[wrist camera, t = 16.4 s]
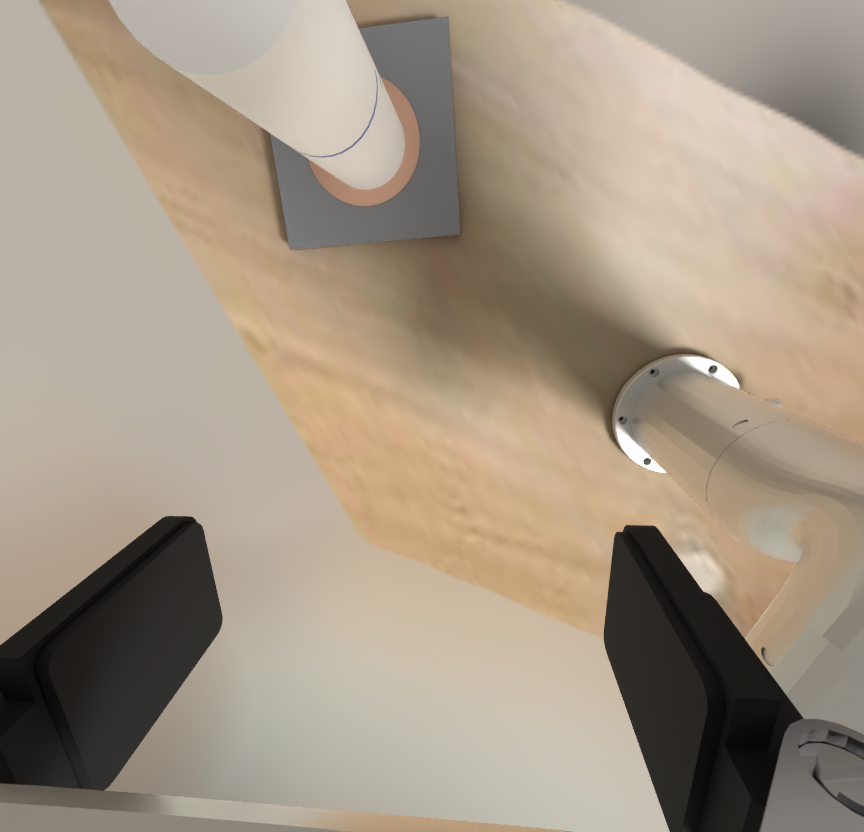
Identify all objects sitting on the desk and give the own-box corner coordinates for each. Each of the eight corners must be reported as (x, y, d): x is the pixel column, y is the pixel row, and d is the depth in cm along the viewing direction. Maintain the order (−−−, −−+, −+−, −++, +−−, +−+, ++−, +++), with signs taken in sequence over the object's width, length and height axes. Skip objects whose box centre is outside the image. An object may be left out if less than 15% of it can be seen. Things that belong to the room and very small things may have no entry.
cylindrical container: (325, 189, 39) (113, 76, 15) (320, 94, 37) (60, -211, 13) (405, 190, 39) (312, 74, 15) (404, 93, 36) (293, -223, 13)
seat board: (448, 27, 36) (448, 14, 34) (460, 235, 41) (460, 233, 39) (262, 51, 37) (252, 40, 36) (295, 250, 42) (288, 249, 41)
